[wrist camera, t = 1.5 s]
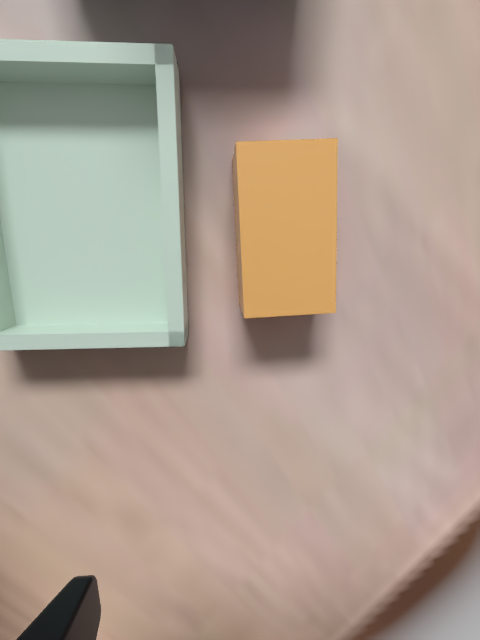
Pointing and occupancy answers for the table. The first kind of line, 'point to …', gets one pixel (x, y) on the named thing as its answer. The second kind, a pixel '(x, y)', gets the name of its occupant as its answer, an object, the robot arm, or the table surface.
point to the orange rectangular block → (286, 226)
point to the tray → (91, 196)
